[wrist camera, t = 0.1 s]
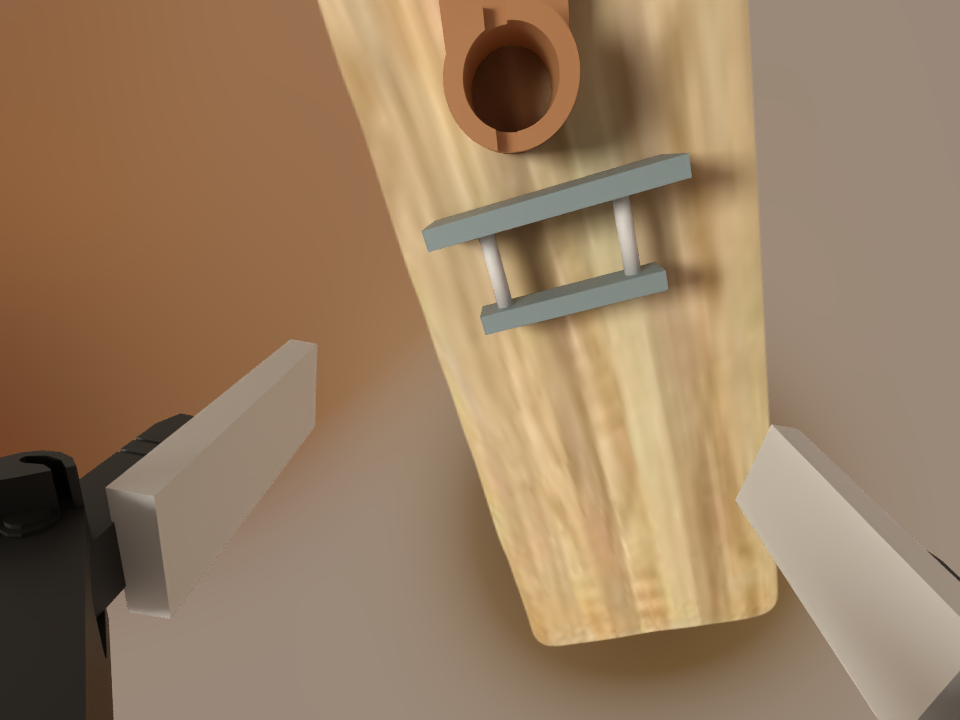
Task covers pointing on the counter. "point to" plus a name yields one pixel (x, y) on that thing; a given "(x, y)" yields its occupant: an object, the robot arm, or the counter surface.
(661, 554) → the counter surface
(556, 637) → the counter surface
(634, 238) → the plate
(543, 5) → the bracket
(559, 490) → the counter surface
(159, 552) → the robot arm
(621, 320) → the counter surface
